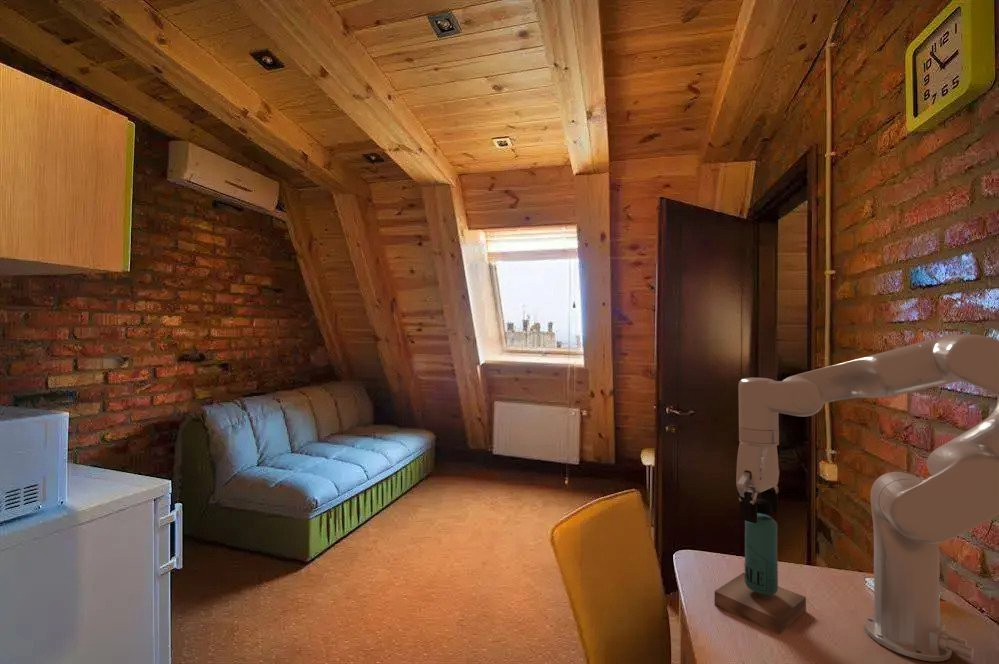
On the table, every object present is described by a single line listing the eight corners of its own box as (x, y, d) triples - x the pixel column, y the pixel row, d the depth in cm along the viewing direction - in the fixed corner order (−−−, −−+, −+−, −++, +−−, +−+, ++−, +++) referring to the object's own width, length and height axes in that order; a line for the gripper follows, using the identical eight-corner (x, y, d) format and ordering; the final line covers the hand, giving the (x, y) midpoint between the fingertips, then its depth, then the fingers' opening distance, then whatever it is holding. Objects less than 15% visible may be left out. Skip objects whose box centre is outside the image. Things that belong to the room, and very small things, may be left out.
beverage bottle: (779, 591, 102) (779, 498, 102) (777, 606, 97) (778, 508, 97) (745, 582, 106) (745, 493, 106) (742, 596, 100) (742, 502, 100)
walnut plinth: (805, 611, 100) (805, 597, 100) (779, 635, 92) (778, 619, 92) (743, 585, 110) (743, 572, 110) (714, 604, 103) (714, 591, 103)
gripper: (758, 428, 110) (759, 502, 110) (720, 438, 99) (721, 520, 99) (794, 433, 104) (795, 511, 104) (758, 444, 93) (759, 531, 93)
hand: (759, 515), depth 101 cm, fingers open, 9 cm apart
